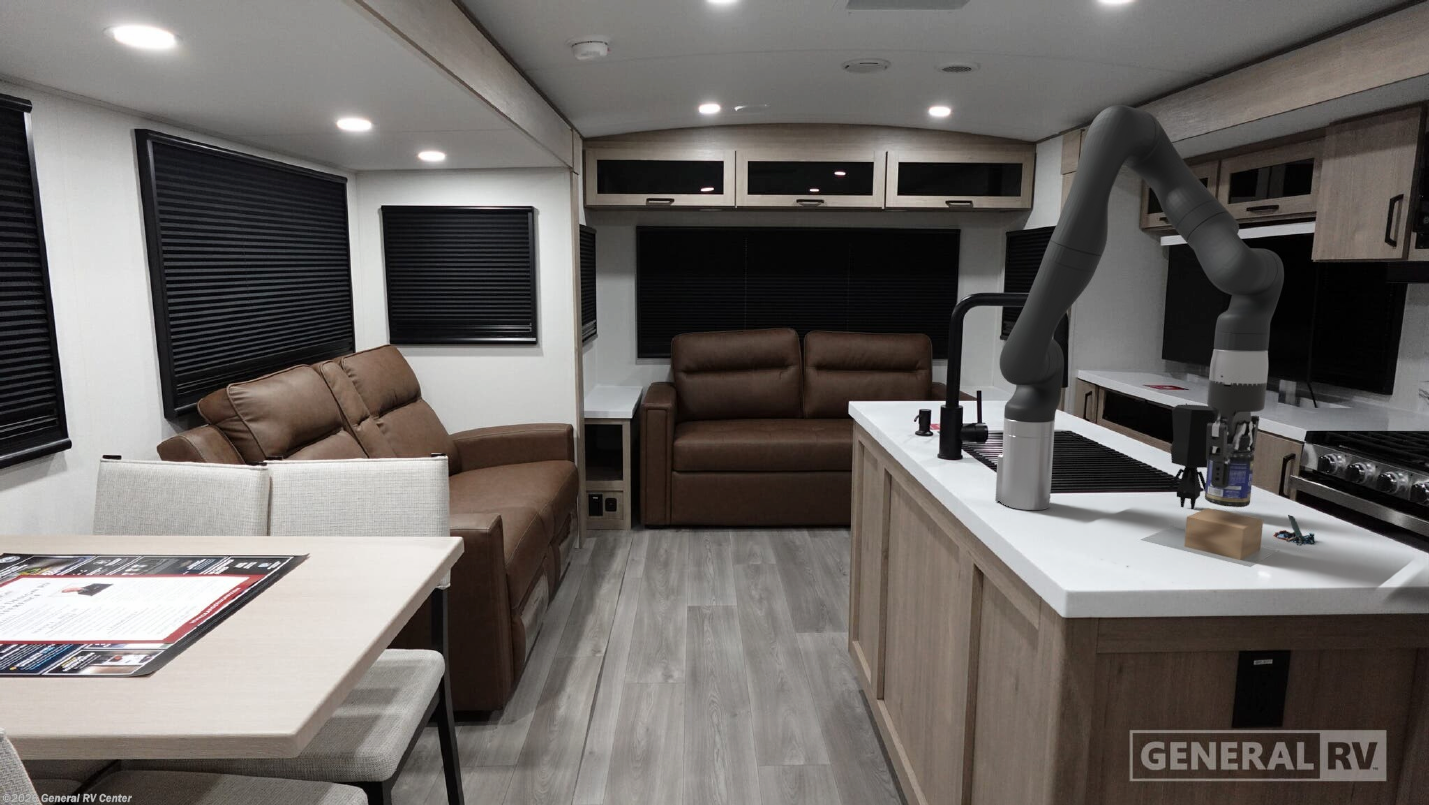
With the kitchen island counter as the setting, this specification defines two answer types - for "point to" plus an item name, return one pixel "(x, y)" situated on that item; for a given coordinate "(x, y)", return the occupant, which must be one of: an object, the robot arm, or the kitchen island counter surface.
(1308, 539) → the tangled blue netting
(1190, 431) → the toy
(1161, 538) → the build plate
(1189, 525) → the wooden block
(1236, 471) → the pill bottle
